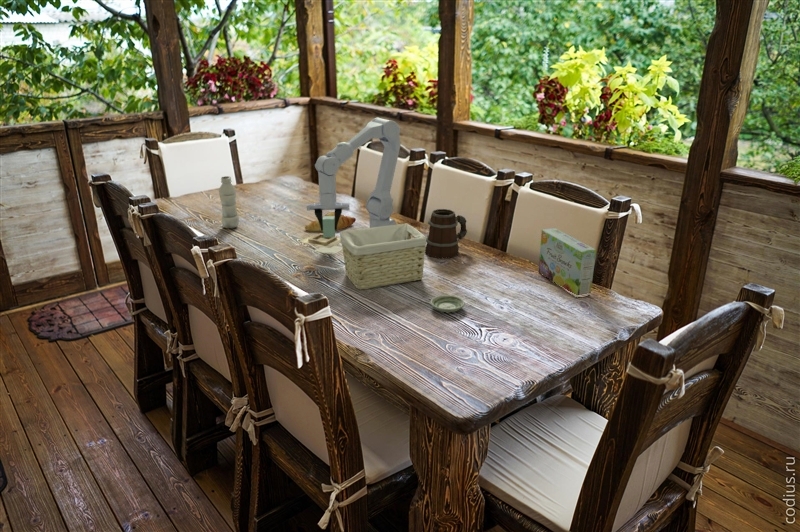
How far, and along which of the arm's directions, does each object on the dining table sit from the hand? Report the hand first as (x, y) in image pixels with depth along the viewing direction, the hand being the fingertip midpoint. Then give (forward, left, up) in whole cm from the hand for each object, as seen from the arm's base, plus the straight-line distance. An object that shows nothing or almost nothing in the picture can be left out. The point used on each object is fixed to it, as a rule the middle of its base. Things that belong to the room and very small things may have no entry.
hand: (329, 229), depth 210 cm
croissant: (+14, -21, -8) cm, 27 cm away
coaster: (0, 0, -8) cm, 8 cm away
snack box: (-80, -11, -8) cm, 81 cm away
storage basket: (-28, +11, -8) cm, 32 cm away
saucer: (-56, +22, -8) cm, 60 cm away
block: (0, 0, -2) cm, 2 cm away
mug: (-37, -20, -8) cm, 42 cm away
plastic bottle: (+48, -3, -8) cm, 49 cm away
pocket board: (+7, -7, -8) cm, 13 cm away
